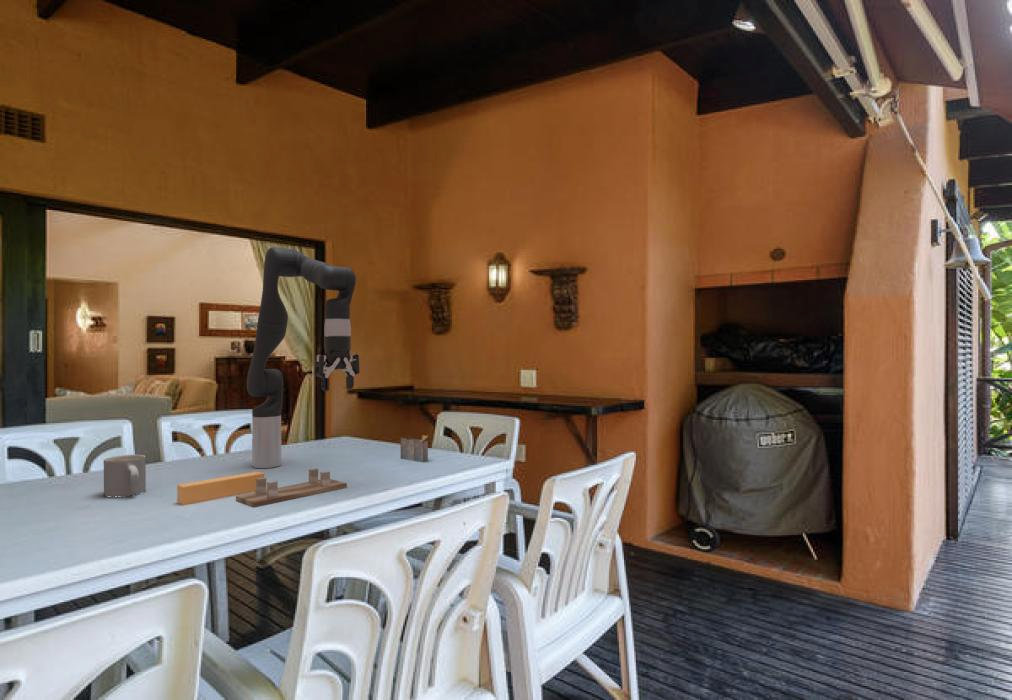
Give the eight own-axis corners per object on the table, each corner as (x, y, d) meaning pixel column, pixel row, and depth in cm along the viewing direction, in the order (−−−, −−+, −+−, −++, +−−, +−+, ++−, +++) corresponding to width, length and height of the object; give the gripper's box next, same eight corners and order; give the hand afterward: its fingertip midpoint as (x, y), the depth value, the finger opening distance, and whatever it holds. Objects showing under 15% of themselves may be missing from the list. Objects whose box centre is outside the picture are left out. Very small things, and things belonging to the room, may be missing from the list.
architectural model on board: (428, 462, 216) (428, 435, 215) (422, 463, 213) (422, 436, 213) (406, 458, 222) (406, 432, 222) (400, 459, 220) (400, 433, 220)
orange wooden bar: (177, 503, 160) (177, 484, 160) (257, 488, 176) (257, 471, 176) (183, 506, 157) (183, 487, 157) (264, 490, 174) (264, 473, 174)
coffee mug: (102, 492, 171) (102, 457, 171) (143, 487, 177) (142, 453, 177) (106, 502, 160) (106, 464, 160) (149, 496, 166) (149, 460, 166)
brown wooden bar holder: (236, 500, 162) (235, 481, 162) (327, 482, 183) (327, 465, 183) (254, 507, 155) (253, 487, 155) (347, 487, 176) (346, 469, 176)
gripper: (348, 335, 185) (348, 387, 185) (308, 334, 173) (309, 391, 174) (365, 334, 180) (365, 389, 181) (325, 334, 169) (325, 392, 169)
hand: (337, 390), depth 177 cm, fingers open, 8 cm apart
